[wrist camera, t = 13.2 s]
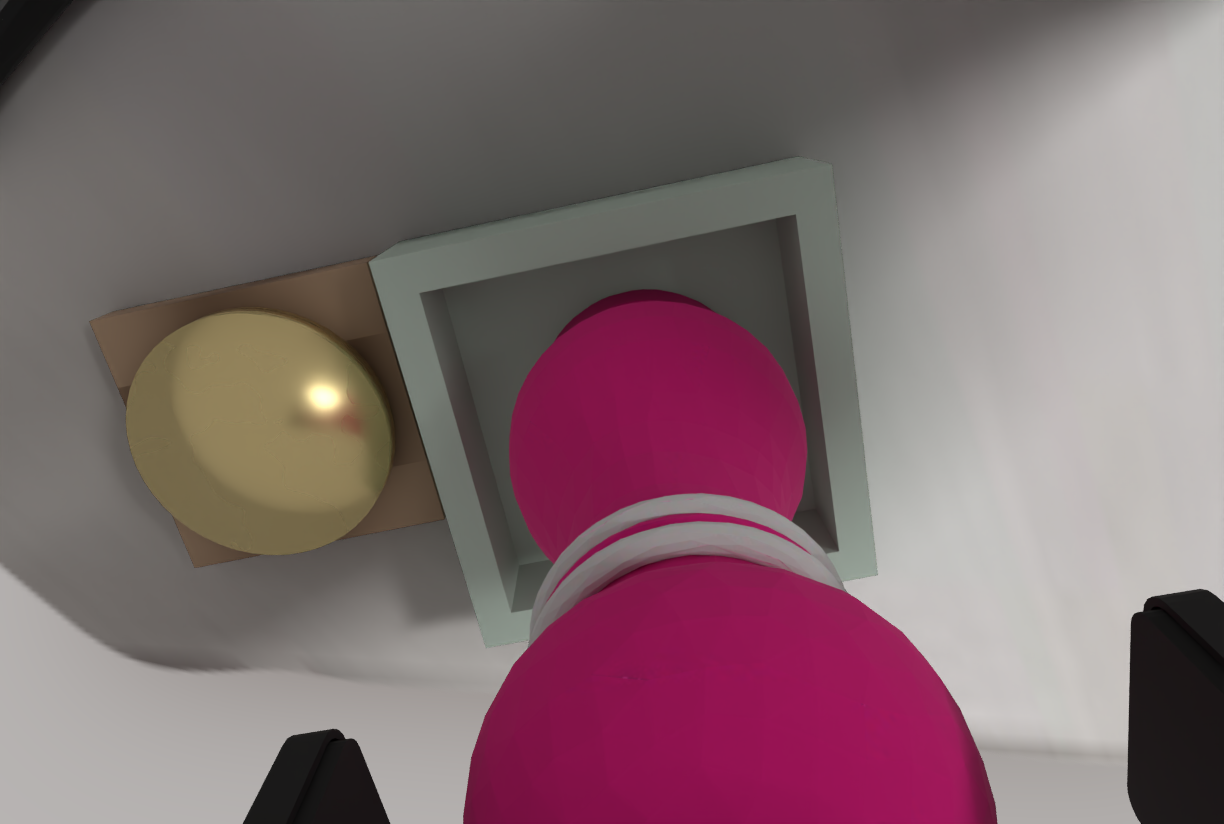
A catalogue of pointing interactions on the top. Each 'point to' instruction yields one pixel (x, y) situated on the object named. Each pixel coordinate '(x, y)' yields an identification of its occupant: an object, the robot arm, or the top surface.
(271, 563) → the top surface
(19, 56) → the electric trimmer
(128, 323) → the checker plinth
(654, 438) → the pepper mill
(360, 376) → the gold disc
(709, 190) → the trough tray
